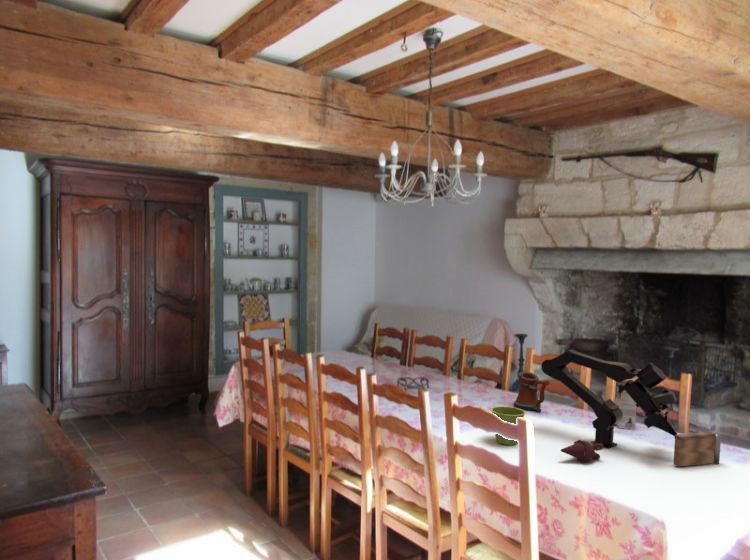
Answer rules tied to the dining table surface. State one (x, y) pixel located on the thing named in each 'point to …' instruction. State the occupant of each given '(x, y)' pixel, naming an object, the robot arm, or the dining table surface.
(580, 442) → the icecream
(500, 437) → the plant pot
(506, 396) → the dining table surface
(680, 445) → the brown flat wooden slab
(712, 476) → the dining table surface
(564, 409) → the dining table surface
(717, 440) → the gate post
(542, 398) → the mug
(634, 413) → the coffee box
